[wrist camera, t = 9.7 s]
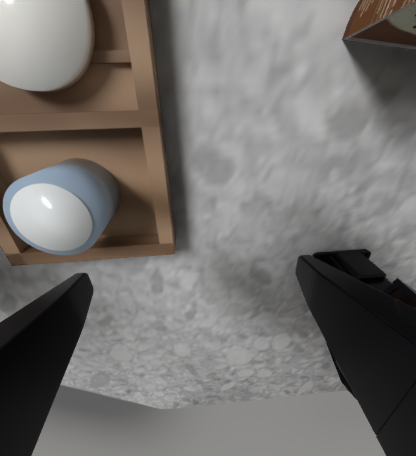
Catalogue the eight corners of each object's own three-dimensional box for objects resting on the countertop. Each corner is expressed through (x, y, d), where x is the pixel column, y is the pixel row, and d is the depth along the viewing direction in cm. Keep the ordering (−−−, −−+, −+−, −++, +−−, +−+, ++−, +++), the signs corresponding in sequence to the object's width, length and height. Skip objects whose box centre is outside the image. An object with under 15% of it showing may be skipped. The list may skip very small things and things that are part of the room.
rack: (175, 239, 22) (174, 254, 20) (29, 249, 21) (11, 265, 19) (134, -123, 11) (122, -176, 9) (-168, -136, 10) (-258, -196, 8)
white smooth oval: (108, 90, 15) (102, 89, 14) (-13, 93, 14) (-28, 92, 13) (71, -90, 11) (59, -110, 10) (-95, -94, 10) (-126, -116, 9)
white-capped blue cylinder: (126, 221, 20) (108, 254, 15) (61, 224, 19) (22, 259, 15) (112, 157, 17) (87, 173, 13) (37, 159, 17) (-19, 177, 12)
